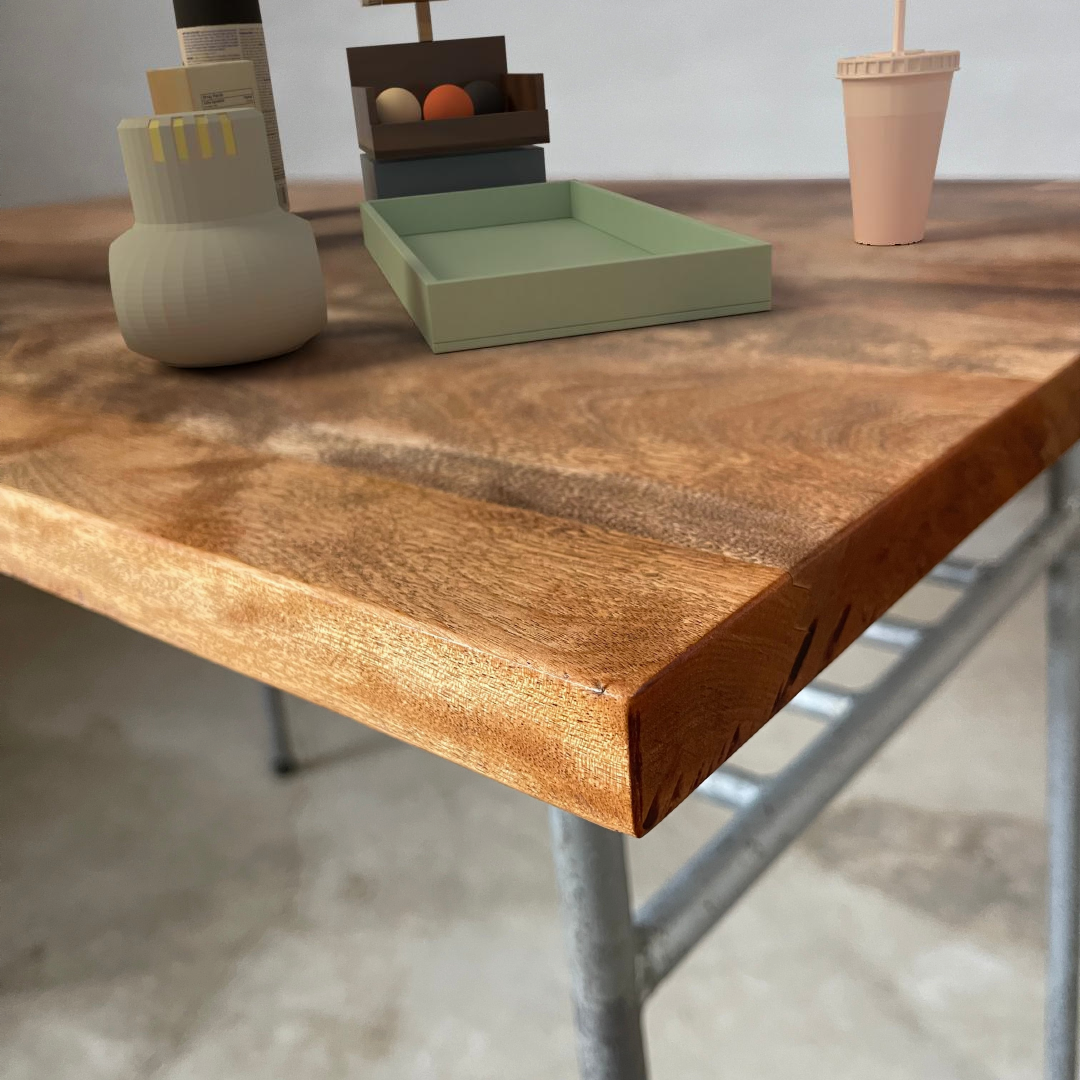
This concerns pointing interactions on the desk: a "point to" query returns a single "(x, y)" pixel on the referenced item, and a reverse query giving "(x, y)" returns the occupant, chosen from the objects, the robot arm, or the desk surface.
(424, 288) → the tray
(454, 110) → the ball terracotta
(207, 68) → the cosmetic box
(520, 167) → the stand
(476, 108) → the ball charcoal
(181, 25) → the spray can
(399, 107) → the ball cream
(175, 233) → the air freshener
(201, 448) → the desk surface
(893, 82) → the smoothie
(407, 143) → the wooden display box
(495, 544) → the desk surface
